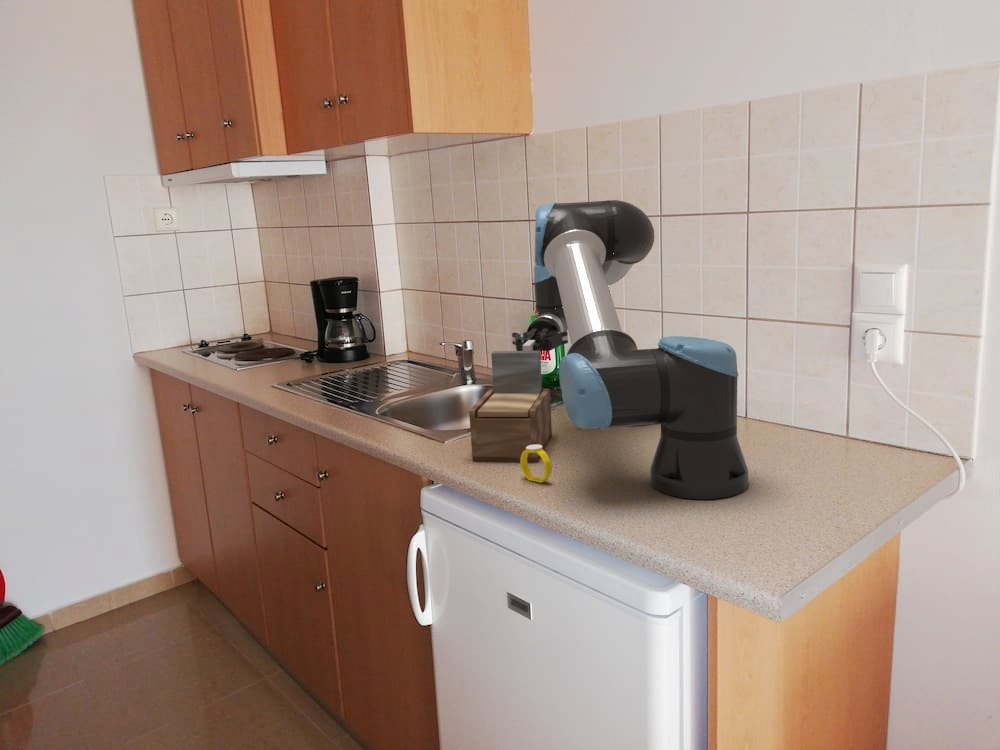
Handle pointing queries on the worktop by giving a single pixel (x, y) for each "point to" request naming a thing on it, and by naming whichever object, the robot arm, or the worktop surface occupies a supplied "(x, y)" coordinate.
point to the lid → (513, 384)
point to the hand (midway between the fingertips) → (526, 352)
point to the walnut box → (510, 432)
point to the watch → (544, 457)
